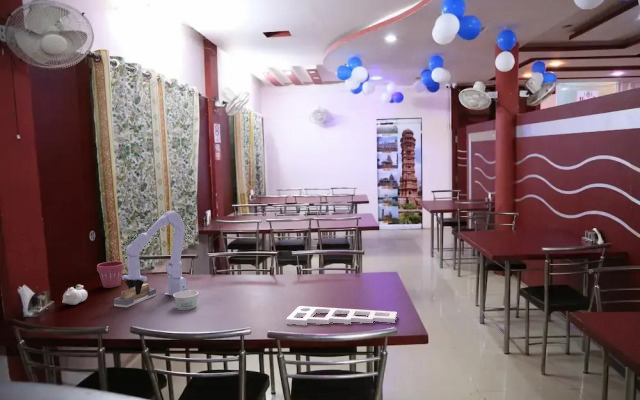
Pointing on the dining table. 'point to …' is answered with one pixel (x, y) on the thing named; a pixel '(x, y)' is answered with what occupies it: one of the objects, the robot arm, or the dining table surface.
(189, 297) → the food container
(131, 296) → the oak slat
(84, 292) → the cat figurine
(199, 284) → the dining table surface
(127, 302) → the cradle
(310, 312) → the holder
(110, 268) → the plant pot
